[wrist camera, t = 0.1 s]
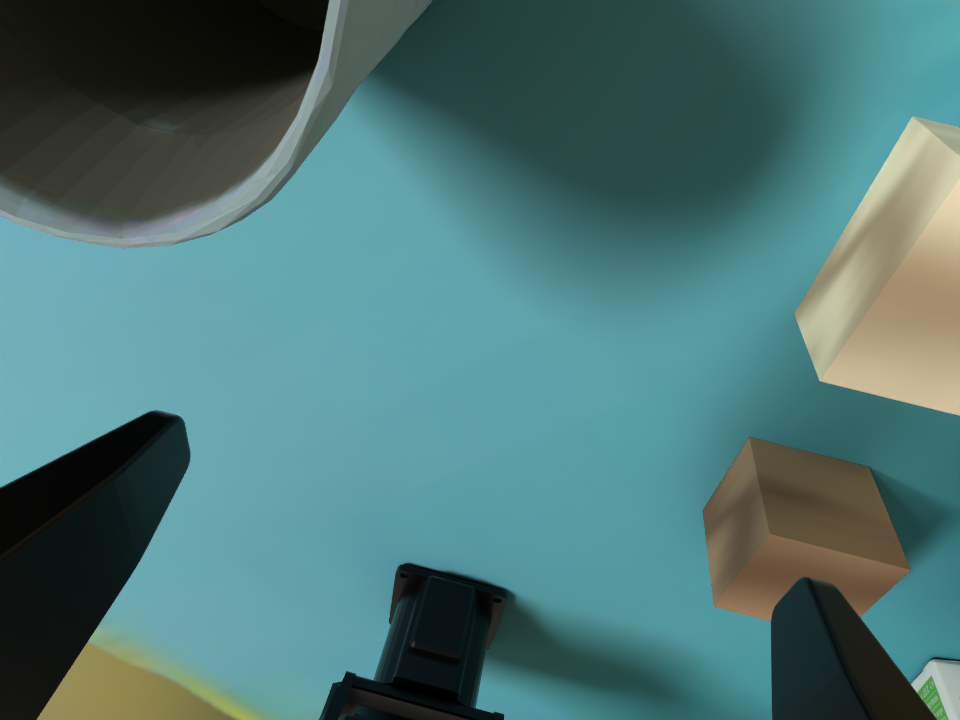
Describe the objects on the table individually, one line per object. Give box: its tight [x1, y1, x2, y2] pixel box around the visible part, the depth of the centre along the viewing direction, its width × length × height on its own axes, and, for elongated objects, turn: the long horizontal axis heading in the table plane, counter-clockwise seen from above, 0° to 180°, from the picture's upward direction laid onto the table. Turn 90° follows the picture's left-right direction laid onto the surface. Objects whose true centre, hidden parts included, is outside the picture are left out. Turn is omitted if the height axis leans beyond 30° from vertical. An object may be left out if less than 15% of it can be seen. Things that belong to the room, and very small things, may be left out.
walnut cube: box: [703, 437, 911, 621], centre depth 26 cm, size 5×5×5 cm
